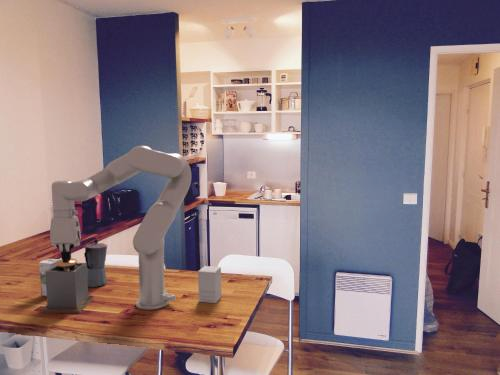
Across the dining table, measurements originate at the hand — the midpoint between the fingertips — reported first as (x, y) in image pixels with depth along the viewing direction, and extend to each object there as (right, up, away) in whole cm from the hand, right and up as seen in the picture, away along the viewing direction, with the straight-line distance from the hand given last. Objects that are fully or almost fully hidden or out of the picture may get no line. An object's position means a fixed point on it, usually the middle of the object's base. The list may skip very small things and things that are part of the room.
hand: (66, 260), depth 161 cm
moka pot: (+2, -15, +25) cm, 29 cm away
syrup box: (-12, -16, +13) cm, 24 cm away
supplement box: (+54, -17, +8) cm, 57 cm away
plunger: (0, -14, +2) cm, 14 cm away
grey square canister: (0, -18, +2) cm, 18 cm away
